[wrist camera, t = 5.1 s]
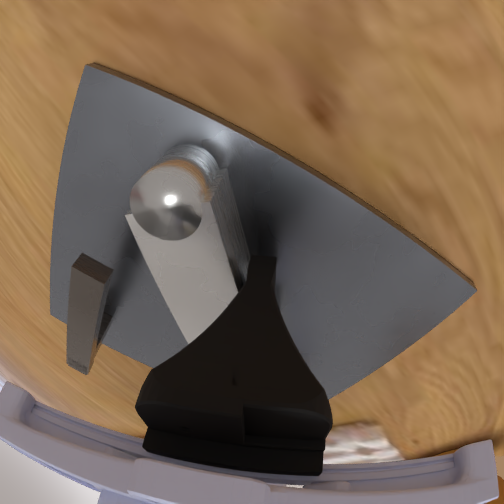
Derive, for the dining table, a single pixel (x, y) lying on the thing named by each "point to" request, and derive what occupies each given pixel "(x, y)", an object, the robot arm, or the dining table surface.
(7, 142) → the dining table surface
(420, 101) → the dining table surface
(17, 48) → the dining table surface
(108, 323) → the bracket
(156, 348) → the base plate
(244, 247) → the link
